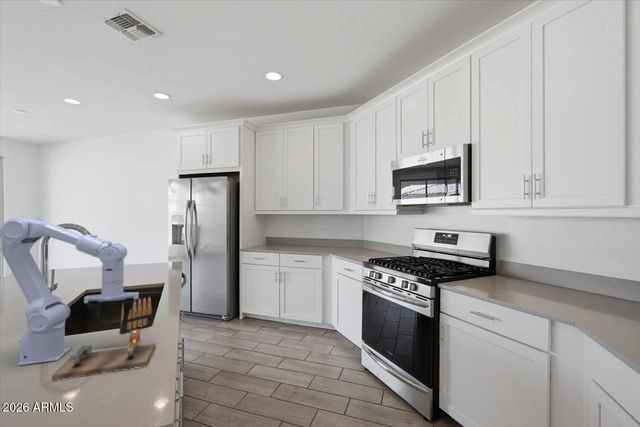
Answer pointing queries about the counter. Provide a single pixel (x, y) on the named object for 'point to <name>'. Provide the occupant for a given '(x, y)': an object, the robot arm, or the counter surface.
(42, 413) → the counter surface
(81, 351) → the fixed leg
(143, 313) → the ammunition clip
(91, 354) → the steel beam
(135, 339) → the sliding leg
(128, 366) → the hole plate
